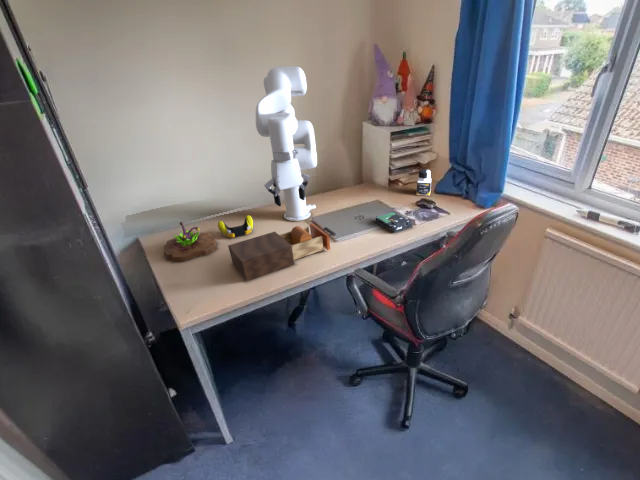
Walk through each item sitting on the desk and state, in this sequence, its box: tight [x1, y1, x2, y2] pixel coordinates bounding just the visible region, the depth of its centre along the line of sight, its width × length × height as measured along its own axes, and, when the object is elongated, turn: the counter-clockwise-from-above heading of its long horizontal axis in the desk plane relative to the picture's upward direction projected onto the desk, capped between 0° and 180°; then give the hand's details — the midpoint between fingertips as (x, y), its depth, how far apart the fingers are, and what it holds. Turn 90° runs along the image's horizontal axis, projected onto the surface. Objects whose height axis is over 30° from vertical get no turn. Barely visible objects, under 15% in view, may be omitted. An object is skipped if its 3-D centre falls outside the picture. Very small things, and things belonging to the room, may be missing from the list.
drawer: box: [279, 223, 336, 261], centre depth 151 cm, size 22×14×6 cm, turn 126°
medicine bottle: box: [415, 168, 432, 196], centre depth 199 cm, size 7×7×12 cm
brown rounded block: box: [290, 225, 312, 245], centre depth 149 cm, size 5×8×8 cm, turn 35°
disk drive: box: [374, 211, 414, 234], centre depth 171 cm, size 10×3×15 cm
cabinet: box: [227, 231, 295, 282], centre depth 142 cm, size 19×15×8 cm
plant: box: [163, 221, 218, 263], centre depth 154 cm, size 20×20×11 cm
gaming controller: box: [217, 215, 254, 238], centre depth 166 cm, size 15×6×10 cm
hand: (290, 202), depth 143 cm, fingers open, 9 cm apart
